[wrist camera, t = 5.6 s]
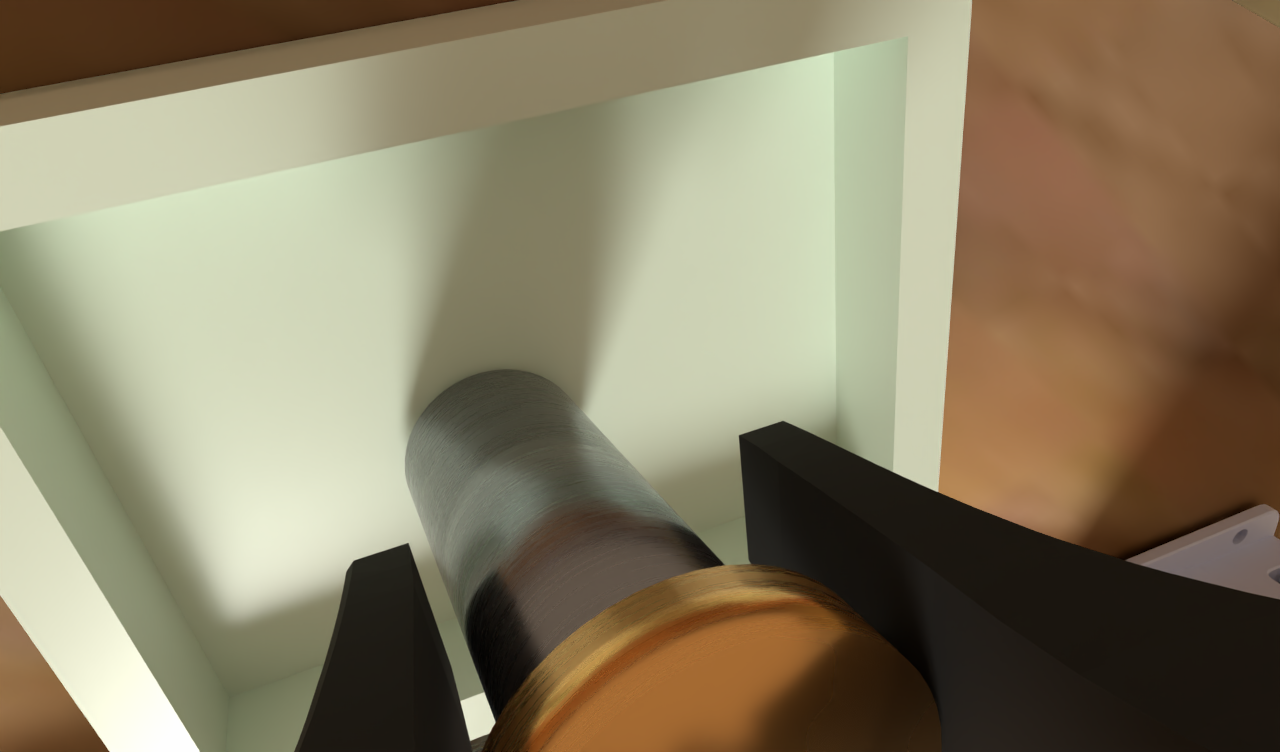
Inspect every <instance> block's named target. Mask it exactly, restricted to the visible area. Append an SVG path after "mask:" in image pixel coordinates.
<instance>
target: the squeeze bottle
mask: <svg viewBox="0 0 1280 752" xmlns="http://www.w3.org/2000/svg"><path fill="white" fill-rule="evenodd" d="M1232 1H1234V2H1236V3H1237V4H1239V5H1241V6H1243V7H1244V8H1246V9H1248V10H1250V11H1251V12H1253V13H1255V14H1257V15H1258V16H1260V17H1262V18H1263V19H1265V20H1267V21H1269V22H1270V23H1272V24H1274V25H1276V26H1277V27H1279V28H1280V0H1232Z"/></svg>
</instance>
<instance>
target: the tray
mask: <svg viewBox="0 0 1280 752" xmlns="http://www.w3.org/2000/svg"><path fill="white" fill-rule="evenodd" d="M971 10H972V0H516V1H511V2H505V3H500V4H494V5H489V6H483V7H478V8H472V9H467V10H461V11H456V12H450V13H444V14H439V15H433V16H428V17H422V18H417V19H411V20H406V21H400V22H395V23H389V24H384V25H378V26H373V27H367V28H362V29H356V30H350V31H345V32H339V33H334V34H328V35H323V36H317V37H312V38H306V39H301V40H295V41H290V42H284V43H279V44H273V45H268V46H262V47H256V48H251V49H245V50H240V51H234V52H229V53H223V54H218V55H212V56H207V57H201V58H196V59H190V60H185V61H179V62H174V63H168V64H162V65H157V66H151V67H146V68H140V69H135V70H129V71H124V72H118V73H113V74H107V75H102V76H96V77H91V78H85V79H80V80H74V81H68V82H63V83H57V84H52V85H46V86H41V87H35V88H30V89H24V90H19V91H13V92H8V93H2V94H0V595H1V597H2V598H3V600H4V601H5V603H6V604H7V605H8V607H9V608H10V610H11V611H12V613H13V614H14V615H15V617H16V618H17V620H18V621H19V623H20V624H21V625H22V627H23V628H24V630H25V631H26V633H27V634H28V635H29V637H30V638H31V640H32V641H33V643H34V644H35V645H36V647H37V648H38V650H39V651H40V653H41V654H42V655H43V657H44V658H45V660H46V661H47V663H48V664H49V665H50V667H51V668H52V670H53V671H54V673H55V674H56V675H57V677H58V678H59V680H60V681H61V683H62V684H63V686H64V687H65V688H66V690H67V691H68V693H69V694H70V696H71V697H72V698H73V700H74V701H75V703H76V704H77V706H78V707H79V708H80V710H81V711H82V713H83V714H84V716H85V717H86V718H87V720H88V721H89V723H90V724H91V726H92V727H93V728H94V730H95V731H96V733H97V734H98V736H99V737H100V738H101V740H102V741H103V743H104V744H105V746H106V747H107V748H108V750H109V751H110V752H294V751H295V748H296V745H297V743H298V740H299V738H300V735H301V732H302V729H303V726H304V724H305V721H306V718H307V715H308V712H309V709H310V705H311V702H312V699H313V696H314V693H315V690H316V687H317V684H318V681H319V678H320V675H321V672H322V669H323V665H324V662H325V659H326V655H327V652H328V648H329V645H330V641H331V637H332V634H333V630H334V626H335V622H336V619H337V614H338V610H339V606H340V601H341V597H342V592H343V587H344V582H345V576H346V571H347V570H348V568H349V567H350V565H351V564H352V562H353V561H354V560H357V559H360V558H363V557H366V556H369V555H372V554H375V553H378V552H382V551H385V550H388V549H391V548H394V547H397V546H400V545H403V544H406V543H409V546H410V549H411V552H412V554H413V557H414V560H415V563H416V566H417V569H418V572H419V575H420V577H421V580H422V583H423V586H424V589H425V592H426V595H427V598H428V601H429V603H430V606H431V609H432V612H433V615H434V618H435V621H436V624H437V626H438V629H439V632H440V635H441V638H442V641H443V644H444V647H445V650H446V652H447V655H448V658H449V661H450V664H451V667H452V670H453V674H454V678H455V682H456V686H457V690H458V694H459V698H460V702H461V706H462V710H463V714H464V718H465V722H466V726H467V730H468V734H469V738H470V741H471V740H474V739H476V738H479V737H481V736H484V735H487V734H489V733H490V732H491V730H492V728H493V726H494V724H495V723H496V722H495V719H494V717H493V714H492V711H491V709H490V706H489V703H488V701H487V698H486V695H485V693H484V690H483V687H482V685H481V682H480V679H479V677H478V674H477V671H476V668H475V666H474V663H473V660H472V658H471V655H470V652H469V650H468V647H467V644H466V642H465V639H464V636H463V634H462V631H461V628H460V626H459V623H458V620H457V617H456V615H455V612H454V609H453V607H452V604H451V601H450V599H449V596H448V593H447V591H446V588H445V585H444V583H443V580H442V577H441V575H440V572H439V569H438V566H437V564H436V561H435V558H434V556H433V553H432V550H431V548H430V545H429V542H428V540H427V537H426V534H425V532H424V529H423V526H422V524H421V521H420V518H419V515H418V513H417V510H416V507H415V505H414V502H413V499H412V497H411V494H410V491H409V488H408V485H407V482H406V476H405V454H406V447H407V444H408V440H409V437H410V434H411V432H412V430H413V427H414V425H415V424H416V422H417V420H418V419H419V417H420V415H421V414H422V413H423V411H424V410H425V409H426V407H427V406H428V405H429V404H430V403H431V402H432V401H433V400H434V399H435V398H436V397H437V396H438V395H439V394H441V393H442V392H443V391H444V390H446V389H447V388H449V387H450V386H452V385H453V384H455V383H457V382H458V381H461V380H463V379H465V378H467V377H469V376H472V375H475V374H478V373H482V372H486V371H492V370H502V369H511V370H521V371H526V372H531V373H534V374H537V375H540V376H542V377H544V378H546V379H548V380H550V381H551V382H553V383H554V384H556V385H557V386H558V387H560V388H561V389H562V390H563V391H564V392H565V393H566V394H567V395H568V396H569V397H570V398H571V399H572V400H573V401H574V403H575V404H576V405H577V406H578V407H579V408H580V409H581V410H582V411H583V412H584V413H585V414H586V416H587V417H588V418H589V419H590V420H591V421H592V422H593V423H594V424H595V425H596V426H597V427H598V428H599V430H600V431H601V432H602V433H603V434H604V435H605V436H606V437H607V438H608V439H609V440H610V441H611V443H612V444H613V445H614V446H615V447H616V448H617V449H618V450H619V451H620V452H621V453H622V454H623V455H624V457H625V458H626V459H627V460H628V461H629V462H630V463H631V464H632V465H633V466H634V467H635V468H636V470H637V471H638V472H639V473H640V474H641V475H642V476H643V477H644V478H645V479H646V480H647V481H648V483H649V484H650V485H651V486H652V487H653V488H654V489H655V490H656V491H657V492H658V493H659V494H660V495H661V497H662V498H663V499H664V500H665V501H666V502H667V503H668V504H669V505H670V506H671V507H672V508H673V510H674V511H675V512H676V513H677V514H678V515H679V516H680V517H681V518H682V519H683V520H684V521H685V522H686V524H687V525H688V526H689V527H690V528H691V529H692V530H693V531H694V532H695V533H696V534H697V535H698V537H699V538H700V539H701V540H702V541H703V542H704V543H705V544H706V545H707V546H708V547H709V548H710V549H711V551H712V552H713V553H714V554H715V555H716V556H717V557H718V558H719V559H720V560H721V561H722V562H723V564H724V565H741V564H751V563H750V561H749V559H748V547H747V534H746V521H745V509H744V496H743V483H742V471H741V458H740V445H739V435H741V434H744V433H747V432H750V431H753V430H756V429H759V428H762V427H766V426H769V425H772V424H775V423H778V422H781V421H785V422H787V423H790V424H792V425H794V426H797V427H799V428H801V429H803V430H805V431H808V432H810V433H812V434H814V435H816V436H818V437H820V438H822V439H825V440H827V441H829V442H831V443H833V444H835V445H837V446H839V447H841V448H843V449H845V450H848V451H850V452H852V453H854V454H856V455H858V456H860V457H862V458H864V459H866V460H869V461H871V462H873V463H875V464H877V465H879V466H881V467H883V468H886V469H888V470H890V471H892V472H894V473H896V474H898V475H901V476H903V477H905V478H907V479H909V480H912V481H914V482H916V483H918V484H921V485H923V486H925V487H927V488H930V489H932V490H934V491H936V492H938V485H939V471H940V456H941V442H942V427H943V413H944V399H945V384H946V370H947V355H948V341H949V327H950V312H951V298H952V283H953V269H954V255H955V240H956V226H957V211H958V197H959V183H960V168H961V154H962V140H963V125H964V111H965V96H966V82H967V68H968V53H969V39H970V24H971Z"/></svg>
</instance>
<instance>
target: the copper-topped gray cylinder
mask: <svg viewBox="0 0 1280 752" xmlns="http://www.w3.org/2000/svg"><path fill="white" fill-rule="evenodd" d="M405 476H406V482H407V485H408V488H409V491H410V494H411V497H412V499H413V502H414V505H415V507H416V510H417V513H418V515H419V518H420V521H421V524H422V526H423V529H424V532H425V534H426V537H427V540H428V542H429V545H430V548H431V550H432V553H433V556H434V558H435V561H436V564H437V566H438V569H439V572H440V575H441V577H442V580H443V583H444V585H445V588H446V591H447V593H448V596H449V599H450V601H451V604H452V607H453V609H454V612H455V615H456V617H457V620H458V623H459V626H460V628H461V631H462V634H463V636H464V639H465V642H466V644H467V647H468V650H469V652H470V655H471V658H472V660H473V663H474V666H475V668H476V671H477V674H478V677H479V679H480V682H481V685H482V687H483V690H484V693H485V695H486V698H487V701H488V703H489V706H490V709H491V711H492V714H493V717H494V719H495V722H496V723H495V724H494V726H493V728H492V730H491V732H490V734H489V736H488V738H487V740H486V742H485V745H484V747H483V749H482V751H481V752H941V750H942V745H941V725H940V720H939V715H938V709H937V706H936V703H935V700H934V698H933V695H932V693H931V690H930V688H929V686H928V685H927V683H926V682H925V680H924V678H923V677H922V675H921V674H920V672H919V671H918V670H917V669H916V668H915V667H914V666H913V665H912V664H911V663H910V662H909V661H908V660H907V659H906V658H905V657H904V656H903V655H902V654H901V653H900V652H899V651H898V650H897V649H896V648H895V647H894V646H892V645H891V644H890V643H889V642H888V641H887V640H886V639H885V638H884V637H883V636H882V635H881V634H880V633H878V632H877V631H876V630H875V629H874V628H873V627H872V626H871V625H870V624H869V623H868V622H867V621H865V620H864V619H863V618H862V617H861V616H860V615H859V614H858V613H857V612H856V611H855V610H854V609H852V608H851V607H850V606H849V605H848V604H847V603H846V602H845V601H844V600H843V599H842V598H841V597H840V596H838V595H837V594H836V593H835V592H834V591H832V590H831V589H829V588H828V587H826V586H825V585H824V584H822V583H821V582H819V581H817V580H815V579H813V578H811V577H809V576H806V575H804V574H802V573H800V572H796V571H792V570H789V569H785V568H781V567H777V566H767V565H757V564H741V565H724V564H723V562H722V561H721V560H720V559H719V558H718V557H717V556H716V555H715V554H714V553H713V552H712V551H711V549H710V548H709V547H708V546H707V545H706V544H705V543H704V542H703V541H702V540H701V539H700V538H699V537H698V535H697V534H696V533H695V532H694V531H693V530H692V529H691V528H690V527H689V526H688V525H687V524H686V522H685V521H684V520H683V519H682V518H681V517H680V516H679V515H678V514H677V513H676V512H675V511H674V510H673V508H672V507H671V506H670V505H669V504H668V503H667V502H666V501H665V500H664V499H663V498H662V497H661V495H660V494H659V493H658V492H657V491H656V490H655V489H654V488H653V487H652V486H651V485H650V484H649V483H648V481H647V480H646V479H645V478H644V477H643V476H642V475H641V474H640V473H639V472H638V471H637V470H636V468H635V467H634V466H633V465H632V464H631V463H630V462H629V461H628V460H627V459H626V458H625V457H624V455H623V454H622V453H621V452H620V451H619V450H618V449H617V448H616V447H615V446H614V445H613V444H612V443H611V441H610V440H609V439H608V438H607V437H606V436H605V435H604V434H603V433H602V432H601V431H600V430H599V428H598V427H597V426H596V425H595V424H594V423H593V422H592V421H591V420H590V419H589V418H588V417H587V416H586V414H585V413H584V412H583V411H582V410H581V409H580V408H579V407H578V406H577V405H576V404H575V403H574V401H573V400H572V399H571V398H570V397H569V396H568V395H567V394H566V393H565V392H564V391H563V390H562V389H561V388H560V387H558V386H557V385H556V384H554V383H553V382H551V381H550V380H548V379H546V378H544V377H542V376H540V375H537V374H534V373H531V372H526V371H521V370H511V369H502V370H492V371H486V372H482V373H478V374H475V375H472V376H469V377H467V378H465V379H463V380H461V381H458V382H457V383H455V384H453V385H452V386H450V387H449V388H447V389H446V390H444V391H443V392H442V393H441V394H439V395H438V396H437V397H436V398H435V399H434V400H433V401H432V402H431V403H430V404H429V405H428V406H427V407H426V409H425V410H424V411H423V413H422V414H421V415H420V417H419V419H418V420H417V422H416V424H415V425H414V427H413V430H412V432H411V434H410V437H409V440H408V444H407V447H406V454H405Z"/></svg>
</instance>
